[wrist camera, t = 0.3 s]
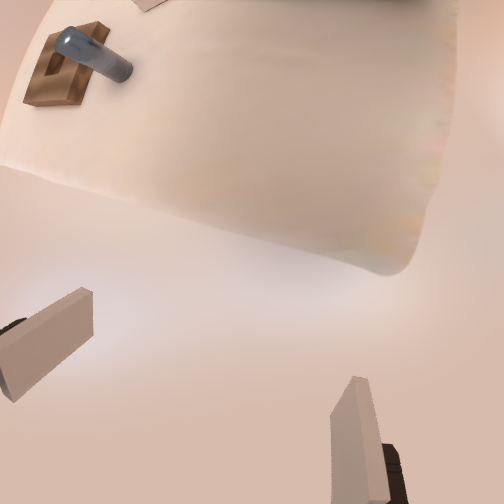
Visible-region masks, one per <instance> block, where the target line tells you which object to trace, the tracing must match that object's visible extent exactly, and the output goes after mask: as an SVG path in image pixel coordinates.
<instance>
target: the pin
mask: <svg viewBox="0 0 504 504" xmlns="http://www.w3.org/2000/svg"><path fill="white" fill-rule="evenodd" d="M54 50H55V51H56V52H58V53H60V54H62V55H65V56H67V57H69V58H71V59H73V60H75V61H77V62H79V63H81V64H83V65H85V66H87V67H89V68H91V69H93V70H95V71H96V72H98V73H100V74H102V75H104V76H106V77H108V78H110V79H112V80H113V81H115V82H117V83H121V82H123V81H125V80H126V79H128V77H129V76H130V75H131V73H132V70H133V66H132V64H131V63H130V62H128V61H127V60H125V59H124V58H122V57H121V56H119V55H118V54H116V53H115V52H113V51H112V50H110V49H109V48H107V47H106V46H104V45H102V44H101V43H99V42H98V41H96V40H94V39H93V38H91V37H90V36H88V35H86V34H85V33H83V32H81V31H80V30H78V29H76V28H75V27H73V26H70V27H67V28H66V29H65V30H63V31H62V32H61V33H60V35H59V36H58V38H57V39H56V41H55V44H54Z"/></svg>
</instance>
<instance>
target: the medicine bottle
mask: <svg viewBox="0 0 504 504" xmlns="http://www.w3.org/2000/svg"><path fill="white" fill-rule="evenodd" d="M132 1H133V2H134V3H135V4H136V5H137V6H139V7H140V8H141V9H142V10H143V11H144V12H145V11H147V10H149V9H151V8H153V7H154V6H156V5H158V4H160V3H162V2H164V1H166V0H132Z"/></svg>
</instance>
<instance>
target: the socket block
mask: <svg viewBox="0 0 504 504" xmlns="http://www.w3.org/2000/svg"><path fill="white" fill-rule="evenodd" d="M75 28H76V29H78V30H80V31H81V32H83V33H85V34H86V35H88V36H90V37H91V38H93V39H94V40H96V41H98V42H99V43H101V44H102V45H103V44H104V42H105V40H106V38H107V35H108V33H109V31H110V29H109V28H107V27H106V26H104V25H103V24H101V23H100V22H99V21H97V22H93V23H89V24H85V25H81V26H77V27H75ZM61 32H62V31H60V32H57V33H54V34H51V35H49V37H48V39H47V41H46V43H45V45H44V47H43V50H42V52H41V54H40V57H39V59H38V62H37V64H36V66H35V69H34V72H33V74H32V77H31V80H30V82H29V85H28V88H27V91H26V94H25V97H24V100H23V103H25V104H29V105H32V106H49V105H72V104H81V102H82V99H83V96H84V93H85V90H86V87H87V84H88V82H89V79H90V76H91V74H92V71H93V69H91V68H89V67H87V66H85V65H83V64H81V63H79V62H77V61H75V60H73V59H71V58H69V57H67V56H65V55H62V54H60V53H58V52H56V51H55V50H54V44H55V41H56V39H57V38H58V36H59V35H60V33H61Z"/></svg>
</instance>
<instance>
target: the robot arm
mask: <svg viewBox="0 0 504 504" xmlns="http://www.w3.org/2000/svg"><path fill="white" fill-rule="evenodd" d="M92 336H93V292H92V291H90V290H87V289H85V288H83V287H81V288H79V289H77V290H75V291H74V292H72V293H70V294H68V295H67V296H65V297H63V298H62V299H60V300H58V301H57V302H55V303H53V304H51V305H50V306H48V307H46V308H45V309H43V310H41V311H40V312H38V313H36V314H34V315H33V316H31V317H30V318H28V319H27V318H22V319H18V320H16V321H14V322H12V323H11V324H9V325H8V326H6V327H4V328H3V329H2V330H0V387H1V389H2V392H3V394H4V395H5V396H6V397H8V399H10V400H11V401H12V402H13V403H14V402H16V401H17V400H18V399H19V398H20V397H21V396H22V395H23V394H25V393H26V392H27V391H28V390H29V389H30V388H32V387H33V386H34V385H35V384H36V383H37V382H39V380H41V379H42V378H43V377H44V376H46V375H47V374H48V373H49V372H50V371H51V370H53V369H54V368H55V367H56V366H57V365H59V364H60V363H61V362H62V361H63V360H64V359H66V358H67V357H68V356H69V355H71V354H72V353H73V352H74V351H75V350H76V349H78V348H79V347H80V346H81V345H82V344H84V343H85V342H86V341H87V340H89V339H90V338H91V337H92ZM330 419H331V453H332V454H331V456H332V502H331V504H409V503H408V500H407V494H406V489H405V484H404V478H403V474H402V468H401V466H400V464H401V463H400V459H399V454H398V452H397V451H396V449H395V448H394V447H393V445H392V444H383V443H381V438H380V433H379V428H378V423H377V418H376V414H375V409H374V404H373V400H372V395H371V391H370V387H369V382H368V379H366V378H361V377H356V376H353V377H352V379H351V380H350V382H349V384H348V386H347V388H346V389H345V391H344V393H343V395H342V397H341V398H340V400H339V402H338V403H337V405H336V407H335V409H334V410H333V412H332V414H331V415H330Z"/></svg>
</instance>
